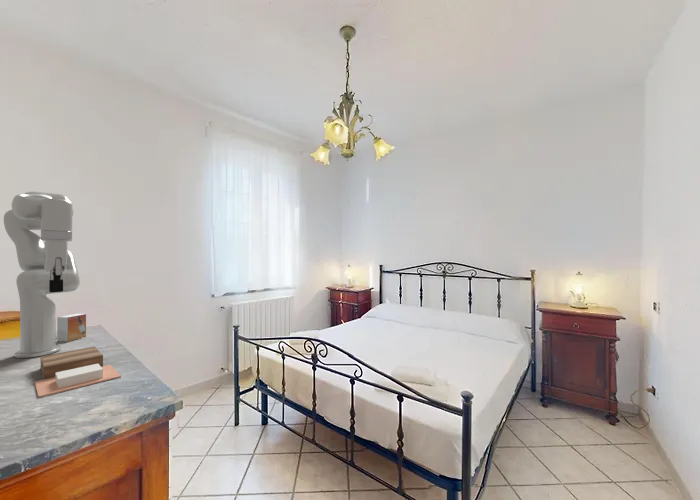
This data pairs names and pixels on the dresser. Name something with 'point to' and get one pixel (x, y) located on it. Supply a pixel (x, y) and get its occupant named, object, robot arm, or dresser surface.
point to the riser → (69, 361)
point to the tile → (78, 375)
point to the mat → (51, 387)
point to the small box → (71, 327)
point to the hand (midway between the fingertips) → (56, 291)
